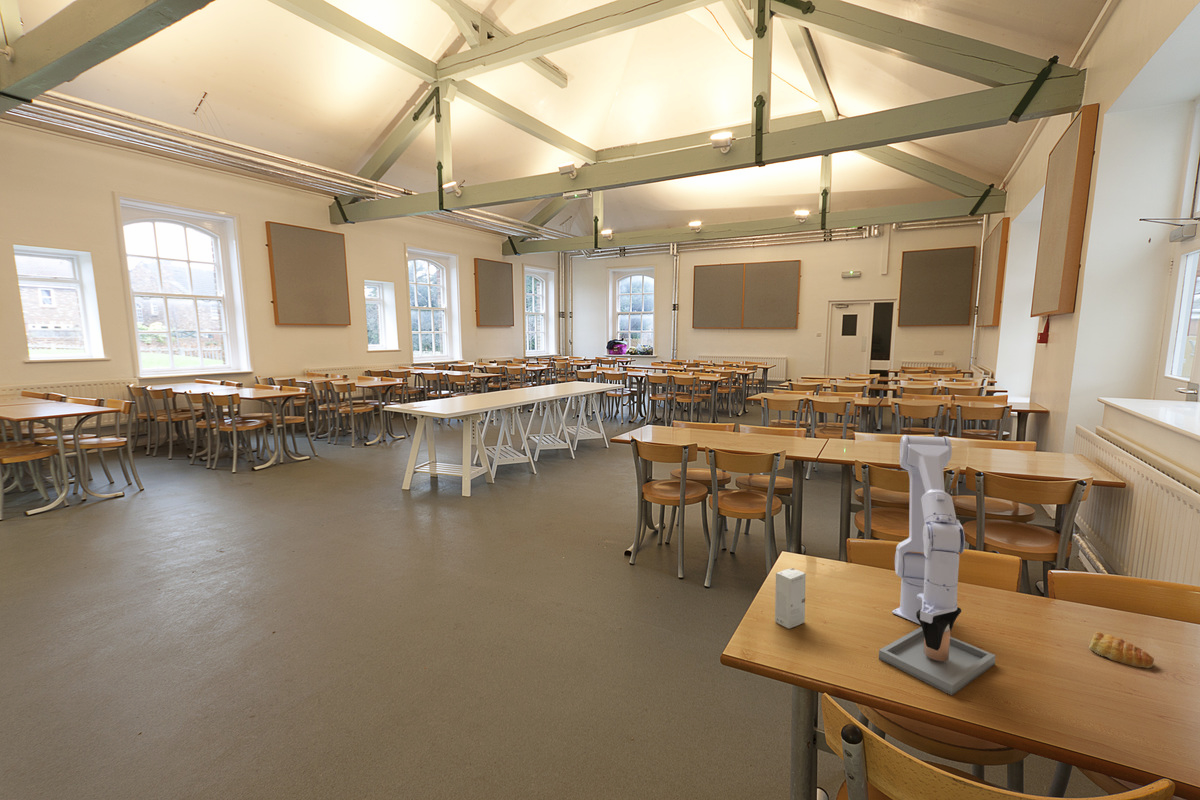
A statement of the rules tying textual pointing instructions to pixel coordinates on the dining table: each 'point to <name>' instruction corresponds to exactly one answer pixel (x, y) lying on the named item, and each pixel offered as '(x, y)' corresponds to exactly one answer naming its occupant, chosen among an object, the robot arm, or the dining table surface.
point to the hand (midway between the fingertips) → (937, 643)
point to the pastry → (1120, 650)
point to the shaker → (943, 650)
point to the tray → (940, 674)
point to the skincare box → (790, 598)
